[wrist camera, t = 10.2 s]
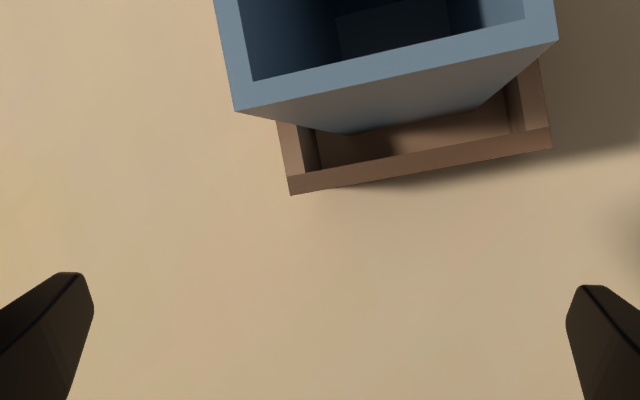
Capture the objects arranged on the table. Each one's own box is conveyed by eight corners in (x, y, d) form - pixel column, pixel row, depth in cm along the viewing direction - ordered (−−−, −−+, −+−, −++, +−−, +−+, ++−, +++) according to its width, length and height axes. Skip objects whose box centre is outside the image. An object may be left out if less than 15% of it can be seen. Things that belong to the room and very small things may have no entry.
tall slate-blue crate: (473, 110, 20) (559, 39, 7) (348, 136, 21) (234, 111, 8) (451, -18, 20) (501, -323, 7) (326, 13, 21) (173, -202, 8)
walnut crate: (528, 148, 21) (552, 147, 17) (313, 188, 22) (290, 195, 19) (490, -77, 20) (506, -133, 16) (274, -18, 22) (241, -55, 18)
